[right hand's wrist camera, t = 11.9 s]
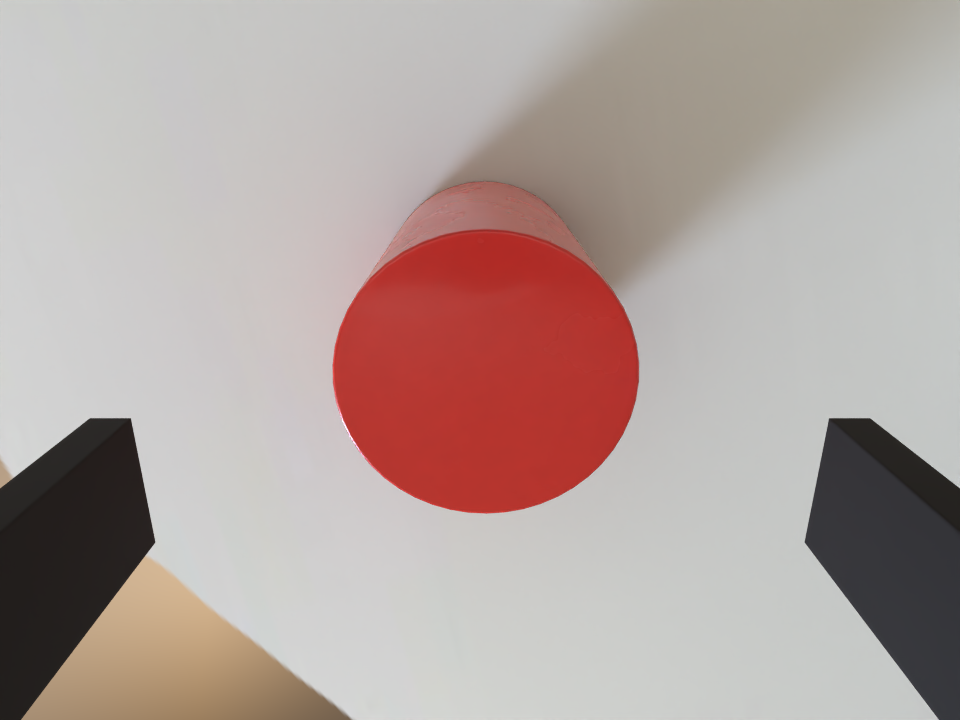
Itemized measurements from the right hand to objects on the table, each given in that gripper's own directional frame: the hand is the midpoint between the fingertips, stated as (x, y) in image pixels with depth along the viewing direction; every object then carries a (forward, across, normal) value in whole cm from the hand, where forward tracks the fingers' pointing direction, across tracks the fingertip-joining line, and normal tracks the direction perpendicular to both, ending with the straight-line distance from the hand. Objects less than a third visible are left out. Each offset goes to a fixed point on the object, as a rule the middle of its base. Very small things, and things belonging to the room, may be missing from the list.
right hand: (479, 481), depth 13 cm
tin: (+15, 0, 0) cm, 15 cm away
